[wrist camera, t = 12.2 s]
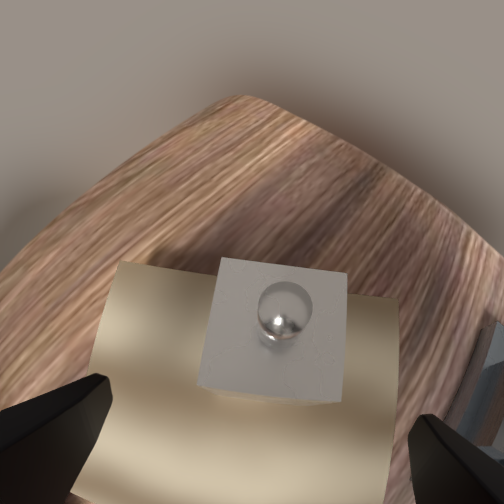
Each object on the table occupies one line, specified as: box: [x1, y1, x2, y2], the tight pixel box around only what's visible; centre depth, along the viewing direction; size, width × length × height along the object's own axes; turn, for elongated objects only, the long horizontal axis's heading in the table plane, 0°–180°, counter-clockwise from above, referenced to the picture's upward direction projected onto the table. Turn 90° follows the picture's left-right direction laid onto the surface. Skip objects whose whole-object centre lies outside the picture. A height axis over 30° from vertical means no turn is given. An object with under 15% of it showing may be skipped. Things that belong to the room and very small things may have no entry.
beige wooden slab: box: [70, 261, 399, 504], centre depth 14 cm, size 14×16×3 cm
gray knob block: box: [197, 257, 347, 406], centre depth 11 cm, size 4×4×8 cm
